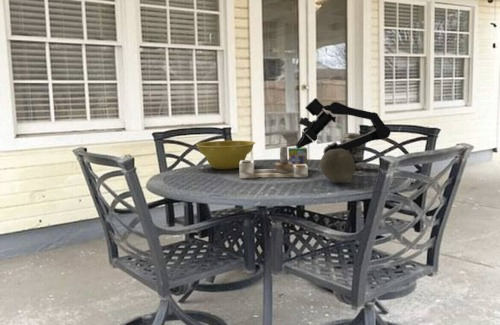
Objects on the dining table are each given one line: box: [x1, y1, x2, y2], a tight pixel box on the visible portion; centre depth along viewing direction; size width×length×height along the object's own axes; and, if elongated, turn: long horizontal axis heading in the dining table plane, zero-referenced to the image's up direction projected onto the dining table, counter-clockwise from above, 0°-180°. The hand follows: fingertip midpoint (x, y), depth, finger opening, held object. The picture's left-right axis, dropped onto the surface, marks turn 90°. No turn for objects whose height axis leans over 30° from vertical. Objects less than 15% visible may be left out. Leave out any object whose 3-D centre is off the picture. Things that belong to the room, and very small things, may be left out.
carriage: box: [275, 146, 293, 170], centre depth 244 cm, size 8×8×10 cm
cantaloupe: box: [320, 149, 356, 185], centre depth 217 cm, size 14×14×15 cm
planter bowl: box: [195, 140, 256, 170], centre depth 278 cm, size 32×32×13 cm
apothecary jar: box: [339, 132, 365, 171], centre depth 260 cm, size 12×12×18 cm
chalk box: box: [287, 141, 309, 168], centre depth 260 cm, size 9×9×15 cm
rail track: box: [238, 159, 309, 179], centre depth 245 cm, size 32×12×8 cm, turn 88°
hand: (297, 146), depth 243 cm, fingers open, 9 cm apart
